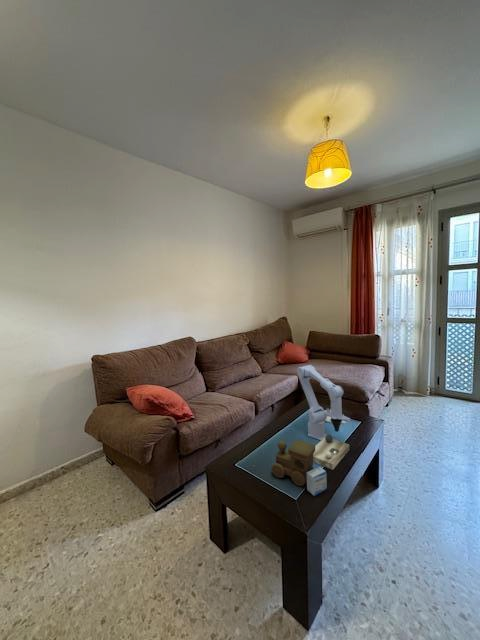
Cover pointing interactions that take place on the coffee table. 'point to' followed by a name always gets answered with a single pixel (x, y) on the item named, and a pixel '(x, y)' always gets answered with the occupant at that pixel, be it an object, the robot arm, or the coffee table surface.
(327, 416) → the figurine
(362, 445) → the coffee table surface
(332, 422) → the robot arm
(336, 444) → the cream knobbed board
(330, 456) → the cream plastic ball
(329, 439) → the black rubber ball
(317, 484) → the medicine box
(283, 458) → the wooden toy train
